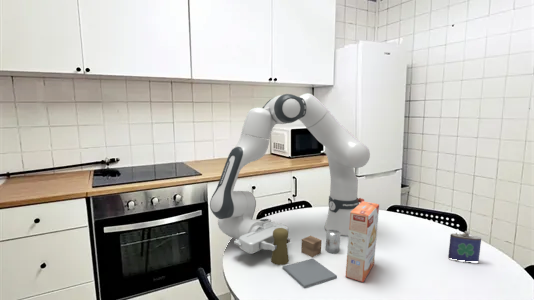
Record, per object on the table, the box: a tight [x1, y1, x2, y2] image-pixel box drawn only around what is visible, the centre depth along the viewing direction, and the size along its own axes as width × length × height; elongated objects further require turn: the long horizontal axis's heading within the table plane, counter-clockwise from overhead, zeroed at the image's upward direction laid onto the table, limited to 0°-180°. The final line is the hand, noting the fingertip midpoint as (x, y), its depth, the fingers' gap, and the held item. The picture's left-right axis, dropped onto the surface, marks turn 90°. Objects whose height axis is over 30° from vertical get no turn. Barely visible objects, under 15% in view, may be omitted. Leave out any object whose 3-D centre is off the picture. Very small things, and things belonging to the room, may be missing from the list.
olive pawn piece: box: [270, 228, 289, 266], centre depth 102 cm, size 6×6×11 cm
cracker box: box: [345, 200, 380, 283], centre depth 96 cm, size 14×6×21 cm, turn 148°
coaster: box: [282, 258, 338, 289], centre depth 95 cm, size 12×12×1 cm
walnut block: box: [301, 235, 323, 258], centre depth 108 cm, size 5×5×5 cm
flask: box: [447, 230, 482, 262], centre depth 104 cm, size 9×3×11 cm, turn 74°
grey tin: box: [324, 229, 341, 255], centre depth 110 cm, size 5×5×7 cm
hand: (282, 244), depth 101 cm, fingers open, 6 cm apart
